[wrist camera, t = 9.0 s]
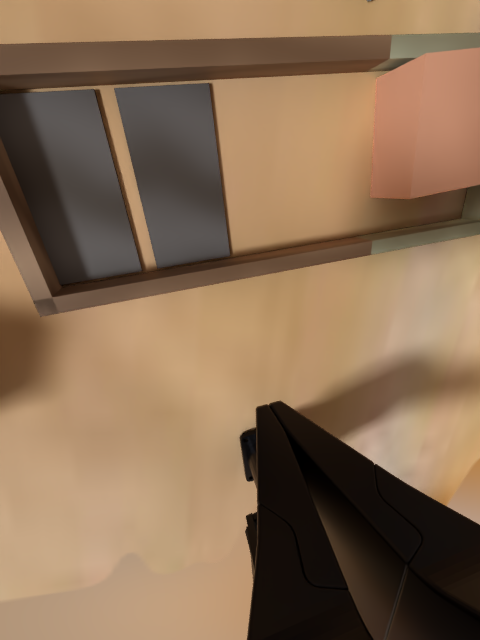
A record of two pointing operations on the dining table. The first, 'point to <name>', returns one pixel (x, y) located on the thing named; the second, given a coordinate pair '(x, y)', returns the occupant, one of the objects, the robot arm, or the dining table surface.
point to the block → (427, 126)
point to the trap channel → (160, 162)
